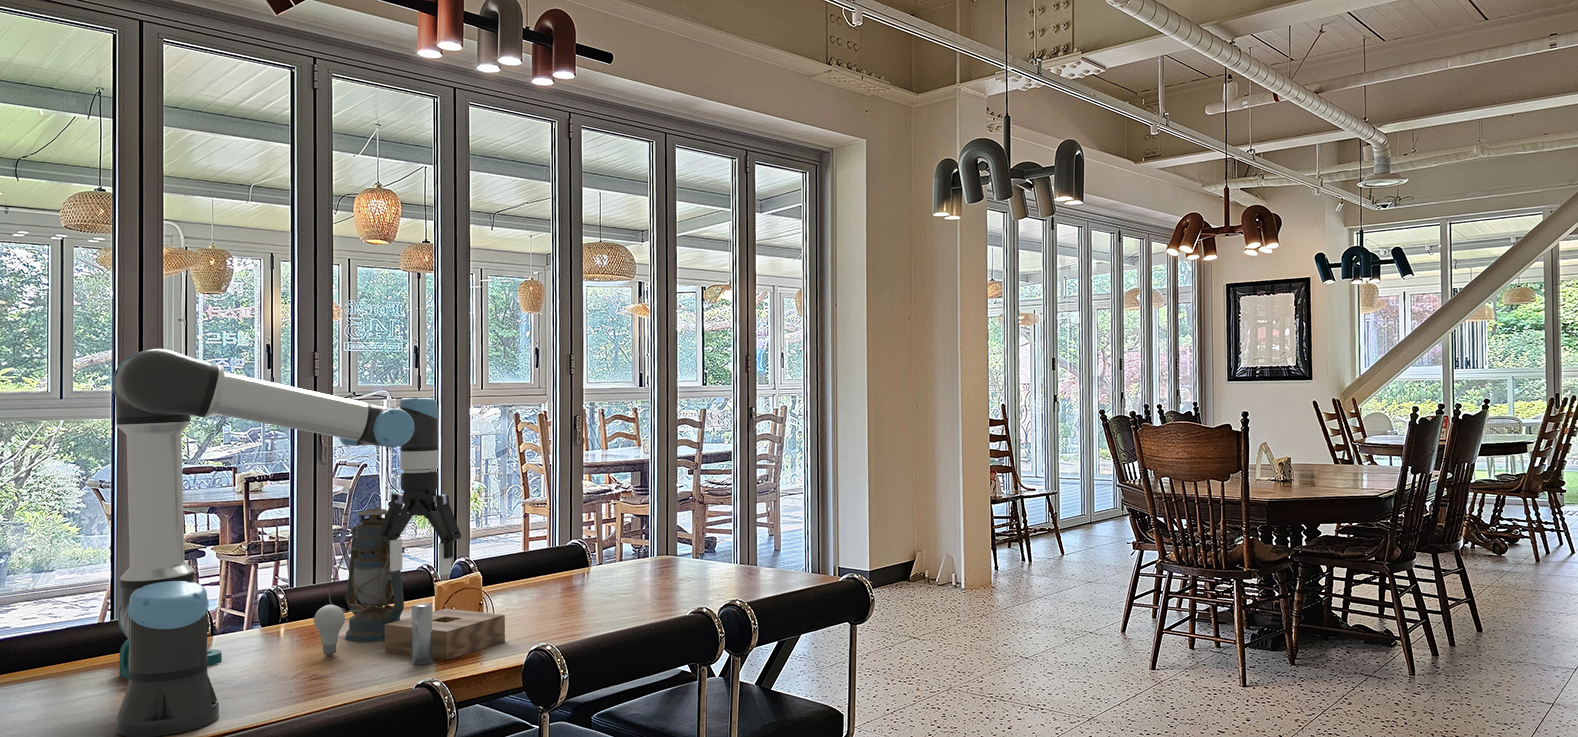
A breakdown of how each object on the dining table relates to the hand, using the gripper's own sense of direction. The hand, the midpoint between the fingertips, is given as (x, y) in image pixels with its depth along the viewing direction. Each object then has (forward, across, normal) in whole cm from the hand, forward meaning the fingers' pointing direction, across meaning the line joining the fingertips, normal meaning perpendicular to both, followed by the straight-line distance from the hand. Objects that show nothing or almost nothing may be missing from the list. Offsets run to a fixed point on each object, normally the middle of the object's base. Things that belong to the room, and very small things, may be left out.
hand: (420, 572), depth 218 cm
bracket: (+19, +45, +23) cm, 54 cm away
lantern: (+19, +29, -14) cm, 38 cm away
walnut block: (+19, +5, -13) cm, 23 cm away
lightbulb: (+19, +23, +3) cm, 30 cm away
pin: (+19, 0, 0) cm, 19 cm away
